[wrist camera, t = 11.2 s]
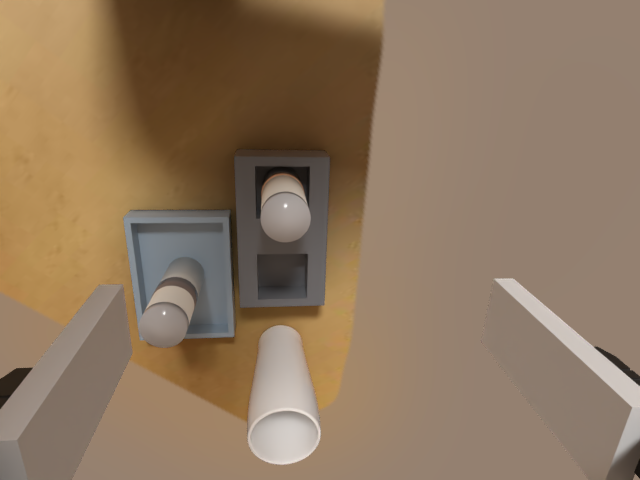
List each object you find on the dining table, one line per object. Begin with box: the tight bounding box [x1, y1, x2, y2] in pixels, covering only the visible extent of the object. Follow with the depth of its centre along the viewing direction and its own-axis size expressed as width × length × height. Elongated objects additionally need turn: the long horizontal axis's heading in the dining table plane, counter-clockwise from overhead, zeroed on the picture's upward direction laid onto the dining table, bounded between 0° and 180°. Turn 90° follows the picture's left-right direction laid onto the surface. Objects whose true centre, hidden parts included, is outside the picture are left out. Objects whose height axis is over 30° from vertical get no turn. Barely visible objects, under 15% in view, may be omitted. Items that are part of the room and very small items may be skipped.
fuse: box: [261, 166, 311, 242], centre depth 40 cm, size 4×4×11 cm
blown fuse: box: [139, 257, 204, 348], centre depth 43 cm, size 4×4×11 cm
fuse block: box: [234, 149, 330, 308], centre depth 46 cm, size 16×9×4 cm, turn 178°
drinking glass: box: [247, 325, 321, 465], centre depth 46 cm, size 7×7×15 cm
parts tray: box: [123, 210, 236, 340], centre depth 47 cm, size 14×10×2 cm
